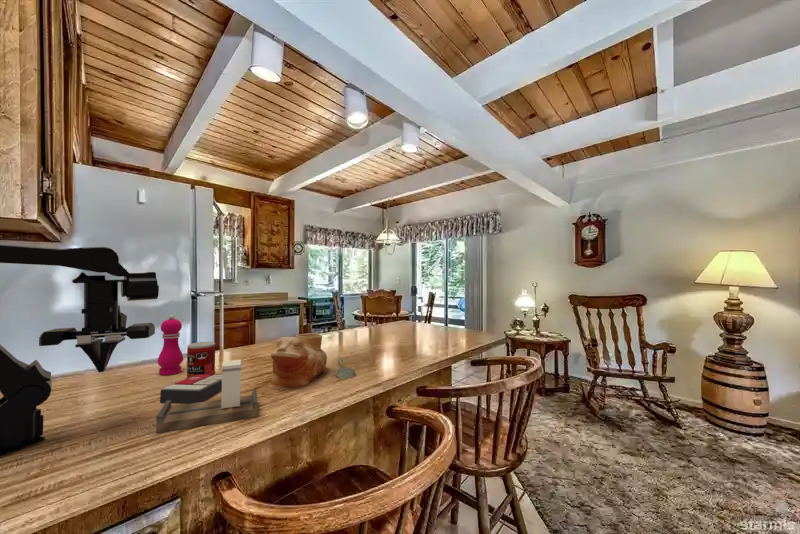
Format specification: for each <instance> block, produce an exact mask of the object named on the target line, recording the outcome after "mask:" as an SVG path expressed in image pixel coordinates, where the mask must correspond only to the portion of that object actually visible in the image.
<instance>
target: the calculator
mask: <svg viewBox="0 0 800 534" xmlns="http://www.w3.org/2000/svg"><path fill="white" fill-rule="evenodd" d="M220 392H222V374H214V375H213V376H212V375H202V374H198V375H195V376H192V377H190V378H187V377H186V378H185V379H182V380H180V381H177V382H175V383H174V384H170V385H168V386H165V387H163V388H162V389H160V395H159V397H160V398H159V404H165V402H166V401H167V400H171V404H176V405H183V404H191V403H198V402H205V401H208V399H210V398H211V397H212V396H214V395H216V394H218V393H220Z"/></svg>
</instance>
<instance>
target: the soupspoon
mask: <svg viewBox="0 0 800 534" xmlns="http://www.w3.org/2000/svg"><path fill="white" fill-rule="evenodd" d="M337 362H338V363H339V364H340V366H341V368H338V369H336V371H335V376H336V377H337V378H338V379H341V380H343V379H353V378H355V376H356V371H355V370H354V369H353V368H351V367H346V366H345V365H344V363H343V358H338V359H337Z"/></svg>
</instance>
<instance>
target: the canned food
mask: <svg viewBox="0 0 800 534" xmlns="http://www.w3.org/2000/svg"><path fill="white" fill-rule="evenodd" d="M215 369H216V342H214V341H198V342H193V343H189V344H187V351H186V379H187V378H190V377H192V376H195V375H198V374H202V375H212V376H213V375H215V373H216V370H215Z"/></svg>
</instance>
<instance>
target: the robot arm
mask: <svg viewBox="0 0 800 534" xmlns="http://www.w3.org/2000/svg"><path fill="white" fill-rule="evenodd" d="M0 264H15V265H34V266H35V265H36V266H55V267H56V266H57V267H65V268H70V269H74V270H75V269H76V270H83V271H87V272H92V273H98V274H97V275H96V274H95V275H92V274H91V275H87V274H86V273H85V272H83V271H82V272H80V273H79V275H78V276H77V277H75V278H73V279H71V282H72V283H73V284H83V308H81V314H83V327H82V328H81V330H77V329H76V327H63V328H53V329H50V330H46V331H43V332H42V333H41V334H40V335H39V337H38V345H39V347H48V346H58V345H60V344H61V343H63V342H64V341H71V340H76V344H75V346H74V347H75V348H80V349H82V351H83V353H85V354H86V355H87V356H88V358H89V360H90V361H91V362H92V364H93V366H94V367H95V369H96V370H97V372H98V373H104V372H105V371H106V369H107V367H108V364H109V362H110V360H111V357H112V355H113V353H114V351H115V349H116V347H117V346H118V345H119V344H120V343H122V342H123V341H126V339H127V338H129V339H130V340H138V339H147V338H150V337H152V336H153V335H155V334H156V326H155V324H154V323H153V322H145V323H144V322H142V323H134V324H131V325H130V326H127V319H128V316H127V315H126V314H125V313H123V312H122V311H121V307H120V304H119V283H120V295H121V297H122V298H125V297H126V300H127V301H128V302H132V301H133V302H135V301H149V300H150V301H151V300H158V297H159V294H160V293H159V290H160V286H159V283H158V279H157V272H156V271H147V272H129V271H128V270H127V268H125V267H124V266H123V265H122V264H121V263H120V258H119V255H118V253H117V252H116V251H115V250H113V249H112V248H110V247H107V246H89V247H88V246H87V247H75V248H74V247H72V248H56V247H55V248H53V247H41V246H24V245H16V244H15V245H11V244H0ZM99 273H107V274H108V275H110V276H112V277H119V278H120V277H123V279H122V278H121V279H106V275H105V274H104V275H101V274H99ZM126 337H127V338H126ZM103 338H104V339H105V340H104V339H103ZM52 385H53V382H52V372H51V371H48V370H46V369H44V368H43V366H42V365H41V364H40V362H39V361H38V360H37V359H35V360H33V362H31V363H29V364H28V363H26V362H25V361H24V362H23V361H21V360H19V359H17V358H16V357H15V355H13V354H12V353H11V352H10V351H9V350H7V349H6V348H5V347H4V346H3V345H2V344H0V393H1V395H2V397H1V398H0V457H3V456H4V457H5V456H7V455H9V454H11V453H15V452H17V451H20V450H24V449H25V448H28V447H31V446H33V445H36V444H39V443H41V442H44V441H46V439H47V437H46V436H43V435H44V421H45V420H44V417H45V416H44V415H43V414H42V409H41V408H37V407H38V406H40V405H42V404H43V403H45V402H46V401H47V400H48V398H49V397H50V396H51V394H52Z"/></svg>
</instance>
